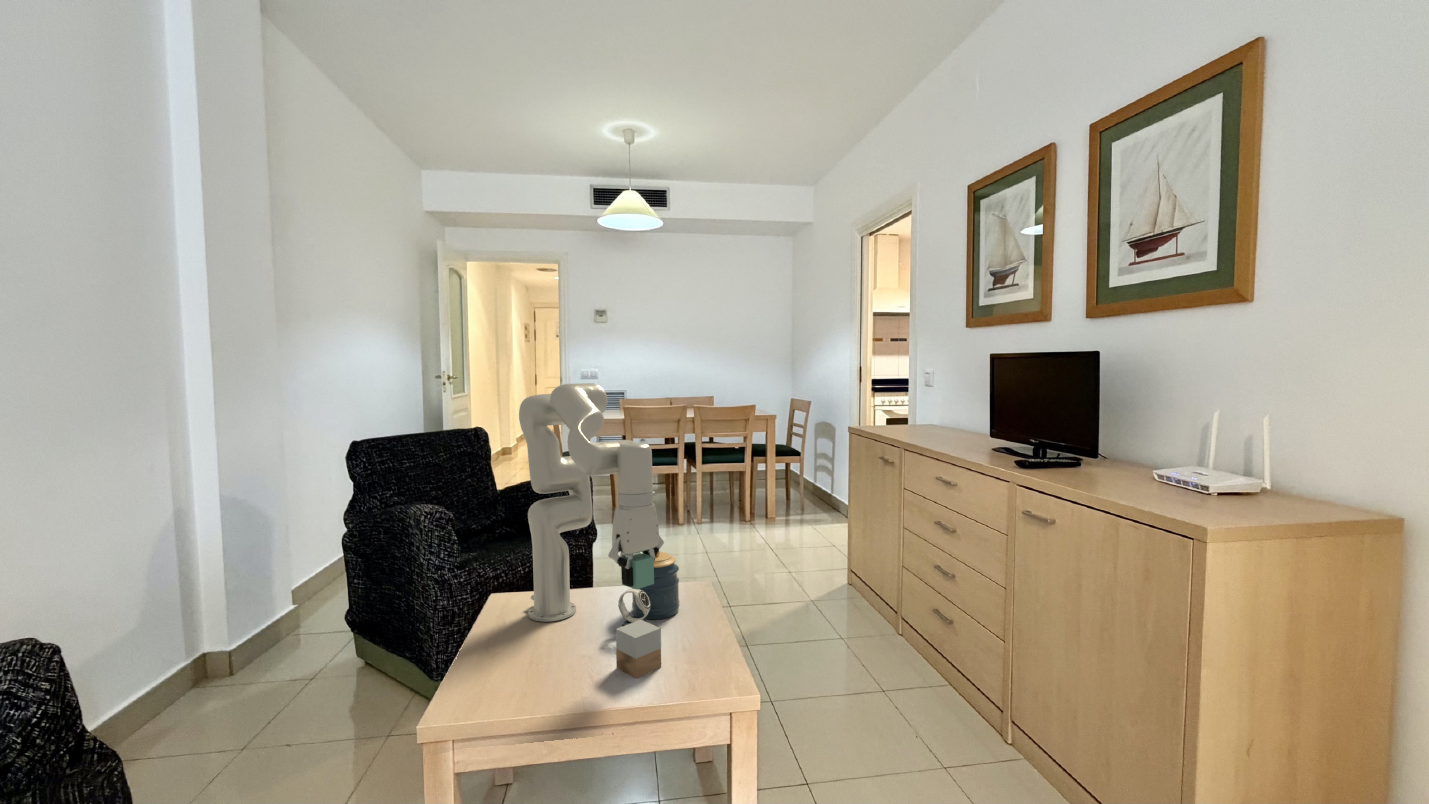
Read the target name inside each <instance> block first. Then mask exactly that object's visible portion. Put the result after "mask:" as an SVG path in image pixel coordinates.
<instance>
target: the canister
mask: <svg viewBox="0 0 1429 804" xmlns="http://www.w3.org/2000/svg"><path fill="white" fill-rule="evenodd" d="M679 570H680V567H679V566H678V565H677V564H676V557H674V555H673V556H672V555H671V554H670V553H668V552H663V551H660V550H659V552H658V553H657V555H656V559H655V561H654V584H652V585H649V586H646V587H643V588H640V590H641V591H644V592H645V593H646V594H647V595H648V597H649V599H650V603H651V606H650V610H649V613H648V615H647V616H646V620H662V619H667V617H668V618H670V616H671V617H673V616H676V614H677V613H678V612H679V610H680V609H679V608H680V597H679V595H680V594H679V589H680V588H679V582H680V579H679V577H678V572H679ZM631 609H632V614H633V615H634V616H636V617H644V615H645V614H643V611H642V610H641V609H640V608H639V607H638V605H637V603H636V600H635V597H634V595H633V594H632V602H631Z"/></svg>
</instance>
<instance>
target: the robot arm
mask: <svg viewBox="0 0 1429 804" xmlns="http://www.w3.org/2000/svg"><path fill="white" fill-rule="evenodd" d="M608 403H609V402H608V395H607V392H606V391H605V389H604V387H602V386H601V385H599V384H598V383H595V382H593V383H592V382H591V383H590V382H587V383H584V382H583V383H563V384H561V385H558V386H556V387H555V388H553V390H552V391H551V393H544V394H536V395H535V394H534V395H530V396H528V397H526V398H524V399H523V400H522V402H521V403H520V405H519V410H518V420H519V425H520V429H521V432H522V434H523V437H524V439H525V442H526V449H527V458H528V468H529V476H530V477H529V479H530V485H531V488H532V490H533V491H534V492H535V493H538V494H552V493H553V494H554V493H559V492H560V493H561V492H566V491H567V492H568V493H569V495H564V496H563V495H562V496H556V497H549V498H543V499H539V500H537V501H535V502H533V504H531V505H530V507H529V508H528V511H527V519H528V520H527V521H528V525H529V531H530V536H531V544H532V568H533V569H532V571H533V573H532V574H533V594H532V595H531V596H530V600H532V601H533V606H532V607H531V608H530V609H529V610H528V617H529V618H530V619H531V620H532V621H536V622H543V623H548V622H550V623H551V622H556V621H558V622H559V621H562V620H565V619H568V618H570V617H572V616H573V615H574V614H576V612H577V605H575V603H573V602H571V595H570V594H571V588H570V585H571V584H570V551H569V545H568V544H567V542H566V541H565V539H563V537H562V536H561V533H565V532H568V531H569V532H570V531H573V530H574V531H575V530H579V529H582V528H586V527H587V526H589V525H590V523H591V522H592V520H593V501H592V500H593V499H592V490H591V489H592V488H591V482H590V480H591V479H590V477H600V476H607V475H617V490H618V491H617V492H618V493H617V494H618V495H617V496H618V497H617V498H618V499H617V500H618V506H617V507H615V509H614V512H613V513H614V514H613V522H612V530H611V531H612V535H611V546H612V547H611V549H610V550H609V552H608V554H607V555H608V558H610V559H611V560H613V561H614V562H615V563H616V564H617V565H618V566H619V568H620V567H621V572H620V573H621V574H620V575H621V585H622V584H624V585H626V586H625V587H627V586H629V587H628V588H630V587H631V586H633V568H630V567H631V562H632V557H633V554H636V553H642V554H645V555H649V556H653V557H654V561H655V559H656V555H657V553H658V552H659V551H660V549H661V548H662V547H663V545H664V543H665V542H664V539H663V538H662V537H661V535H660V529H659V528H660V527H659V519H658V513H657V508H656V505H655V503H654V498H655V497H656V495H657V494H656V491H653V488H654V487H653V486H654V485H653V453H652V452H653V451H652V447H651V446H650V445H649V444H648V443H645V442H644V443H643V442H636V441H633V440H630V439H622V440H619V439H618V440H611V441H610V440H609V441H608V440H607V441H605V440H604V441H596V442H591V441H590V440H591V439H593V438H594V437H596V435H598V434H599V433H600V432H601V430H602V429H603V426H604V423H605V417H604V414H603V413H605V411H606V409H607V406H608ZM564 425H565V426H566V427H567V428H568V429H569V432H568V435H567V450H568V454H569V456H566V455H565V456H562V455H561V450H560V448H561V447H560V440H559V438H558V437H557V435H556V434H555V433H554V431H552V430H551V429H550V427H549V426H564ZM619 553H620V555H619ZM626 556H627V557H626ZM625 558H626V561H625ZM624 585H623V586H624Z"/></svg>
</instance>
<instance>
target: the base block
mask: <svg viewBox="0 0 1429 804" xmlns="http://www.w3.org/2000/svg"><path fill="white" fill-rule="evenodd" d="M615 652H616V653H615V655H616V658H615V659H616V660H615V661H616V669H617V670H619V671H621V672H623V673H624V674H627V675H629V676H630V677H632V678H634V679H638V678H641V677H643V676H645V675H648V674H650V673H653V672H654V671H657V670H658V669H661V668H662V647H661V648H660V649H658V650H656V651H653V652H651V653H649V654H646V655H644V656H641V657H639V658H637V659H635V658H633V657H631V656H629V655H627V654H626V653H624V652H622V651H620V650H618V649H615Z"/></svg>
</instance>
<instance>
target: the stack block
mask: <svg viewBox="0 0 1429 804" xmlns="http://www.w3.org/2000/svg"><path fill="white" fill-rule="evenodd" d="M626 557H627V556H626ZM625 561H626V558H625ZM630 568H633V586H631V587H629V586H626V585H624V584H622V583H621V585H622V586H625V587H627V588H629V589H632V588H633V589H636V590H637V589H640V588H643V587H646V586H649V585H652V584H654V557H653V556H649V555H645V554H643V553H642V552H639V553H635V554H633V557H632V562H631V567H630Z"/></svg>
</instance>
